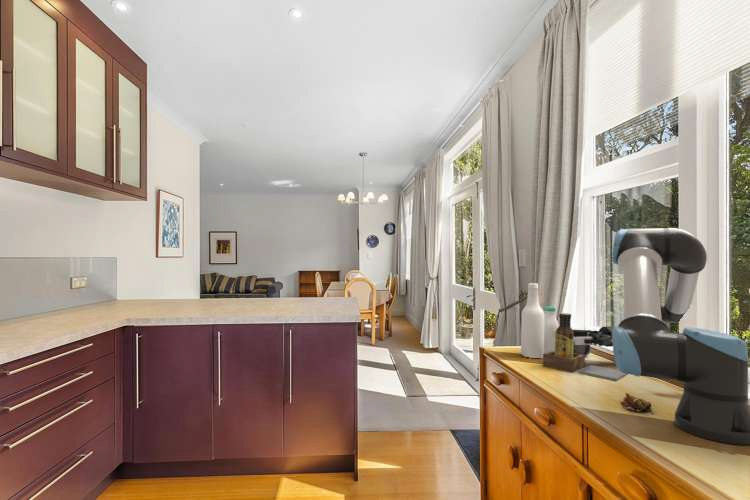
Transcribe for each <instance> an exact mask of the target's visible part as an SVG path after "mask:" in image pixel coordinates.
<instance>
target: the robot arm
mask: <svg viewBox="0 0 750 500" xmlns="http://www.w3.org/2000/svg"><path fill="white" fill-rule="evenodd" d="M707 256H708V255H707V251H706V249H705V247H704V244H703V243H702V242H701V241H700V240H699V238H697V237H696V236H695V235H693V234H692V233H690V232H689V231H686V230H684V229H681V228H674V227H668V228H666V227H664V228H662V227H661V228H660V227H659V228H656V227H655V228H632V227H631V228H624V229H619V230H617V232H615V235H614V240H613V247H612V263H613V264H614V265H618V268H619V269H620V270H621V271H622V272H623V275H622V276H623V317H624V318H623V319H621V320H620V321H619V323H618V325H615V326H611V325H610V326H601V327H600V328H599V330H590V329H573V328H572V330H573V332H574V337H575V345H590V346H592V345H594V346H599V347H603V346H604V347H606V348H608V347H610V348H611V347H612V351H613V358H614V363H615V364H614V365H615V367H616V368H617V369H616V370H619V371H620V372H622V373H625V374H628V375H631V376H635V377H647V378H654V379H660V380H669V381H673V382H674V381H675V382H681V383H683V392H682V395H681V396H680V397H681V398H680V399H679V401H678V404H677V407H676V409H675V412H674V424H675V425H676V426H677V427H678V428H679V429H681V430H683V431H685V432H687V433H689V434H691V435H694V436H698V437H700V438H704V439H707V440H711V441H715V442H719V443H725V444H730V445H742V446H743V445H744V446H747V445H748V446H749V445H750V406H749V362H750V359H749V353H748V352H749V351H748V345H747V343H746V341H744V340H743V339H741V338H739V337H737V336H735V335H731V334H728V333H724V332H720V331H715V330H709V329H706V328H705V329H703V328H699V327H690V326H687V327H686V326H685V327H684V329H682V332H673V331H671V329H670V327H669V325H668V324H667V323H671V324H679V321H680V319H681V318H682V317H683V315H684V314H685V313H686V312H687V310H688V309H689V308H690V305H691V304H693V300H694V295H695V291H696V287H697V283H698V280H699V275H700V273H701V271H703V270H704V269H705V267H706V264H707V259H708V257H707ZM662 266H669V268H670V269H669V270H670V272H669V277H668V283H667V290H666V296H665V301H664V302H663V301H661V299H660V298H661V297H660V290H659V289H660V287H659V278H658V271H659V270H660V268H661V267H662ZM555 335H556V330H552V337H553V338H554V337H555Z"/></svg>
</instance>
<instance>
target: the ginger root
mask: <svg viewBox="0 0 750 500" xmlns="http://www.w3.org/2000/svg"><path fill="white" fill-rule="evenodd" d="M620 404H621V406H622V407H623V408H625V409H629V410H631V411H636V412H641V411H647V412H650V413H651V415H652V416H653V415H656V412H653V410H652V408H651V407H652V403H651V402H650V401H648V402H647V400H644V399H643V398H637V397H635V396H633V395H630V394H629V393H627V392H625V396H624V398H623V400H622V401H620Z"/></svg>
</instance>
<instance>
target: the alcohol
mask: <svg viewBox="0 0 750 500" xmlns="http://www.w3.org/2000/svg"><path fill="white" fill-rule="evenodd" d="M527 288H528V289H527V297H526V299H527V300H526V305H525V306H524V308H523V309H522V310H521V323H520V324H521V325H520V326H521V329H520V330H521V332H520V333H521V334H520V339H521V341H520V343H521V344H520V345H521V347H520V351H521V352H520V353H521V356H522V355H523V356H525V357H524V358H526V357H529V358H528V359H531V358H541V359H543V354H544V309H542V307H541V306H540V298H539V284H538V283H536V282H529V283H528V284H527ZM523 356H522V357H523Z"/></svg>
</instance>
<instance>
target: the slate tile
mask: <svg viewBox="0 0 750 500" xmlns="http://www.w3.org/2000/svg"><path fill="white" fill-rule="evenodd" d="M578 374H580V375H586V376H590V377H595V378H599V379H604V380H609V381H614V382H618V381H620V380H621V379H623V378H625V377H626V376H627V375H629V374H625V373H622V372H620V371H619V370H618V369H615V368H614V369H613V368H607V367H603V366H597V365H591V364H590V365H588V366H585V367H584V368H582V369H580V370H578Z"/></svg>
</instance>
